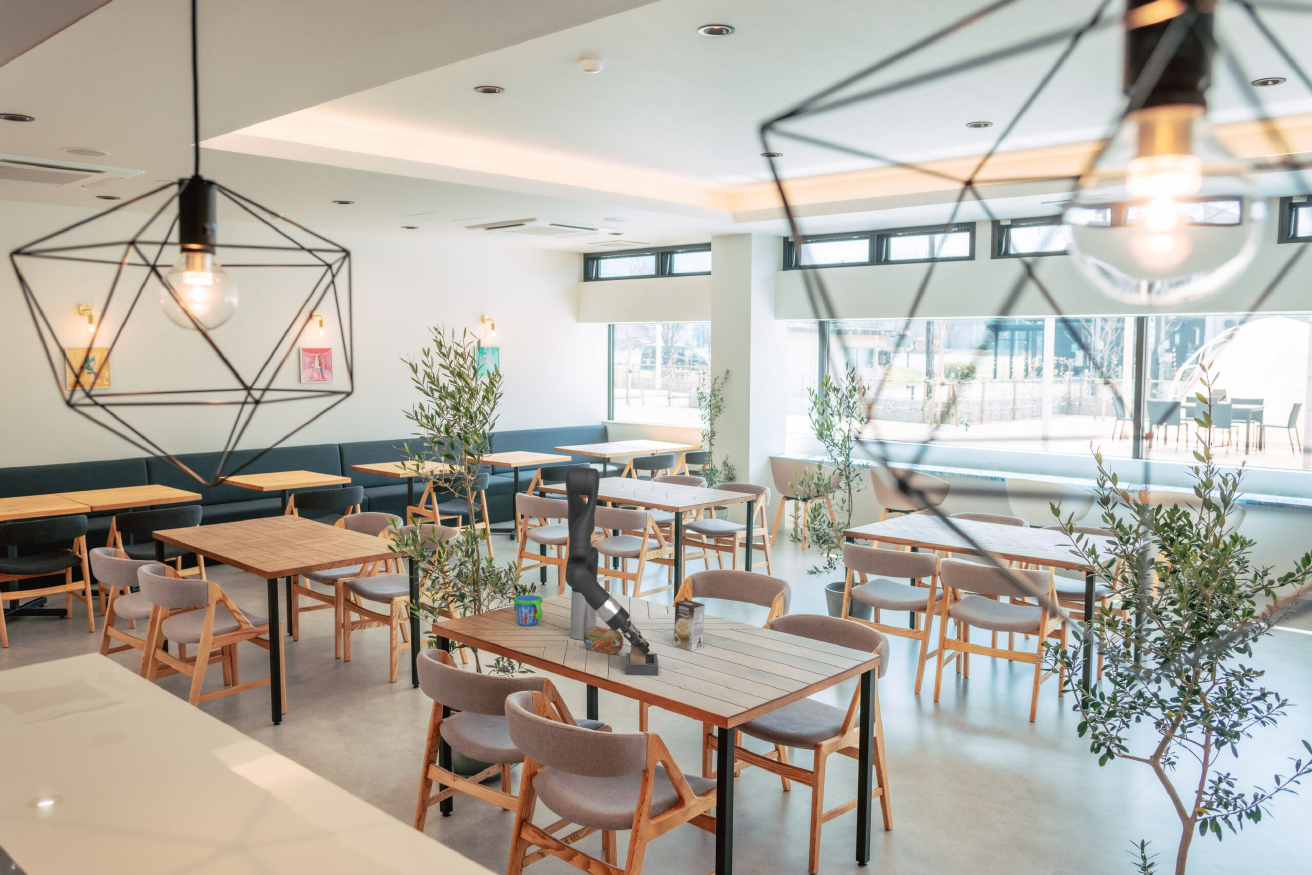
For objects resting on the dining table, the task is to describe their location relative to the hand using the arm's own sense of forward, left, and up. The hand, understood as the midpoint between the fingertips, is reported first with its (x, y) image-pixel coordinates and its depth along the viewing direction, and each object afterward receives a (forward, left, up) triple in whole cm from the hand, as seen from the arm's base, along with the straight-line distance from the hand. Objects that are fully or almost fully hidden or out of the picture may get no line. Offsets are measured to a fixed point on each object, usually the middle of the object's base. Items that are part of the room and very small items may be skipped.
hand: (647, 649), depth 302 cm
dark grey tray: (0, -2, -6) cm, 7 cm away
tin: (-18, -15, -7) cm, 24 cm away
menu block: (0, -3, -6) cm, 7 cm away
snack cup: (-52, -45, -7) cm, 69 cm away
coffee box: (-26, +15, -7) cm, 31 cm away
